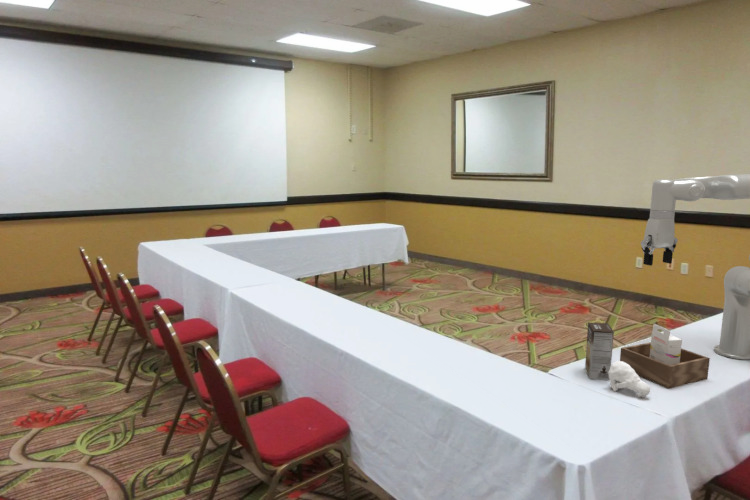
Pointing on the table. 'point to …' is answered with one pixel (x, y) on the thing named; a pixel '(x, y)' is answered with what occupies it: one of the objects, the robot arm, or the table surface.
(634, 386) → the white figurine
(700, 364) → the walnut box
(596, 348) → the coffee box
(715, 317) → the table surface
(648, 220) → the robot arm
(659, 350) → the ink cartridge box
